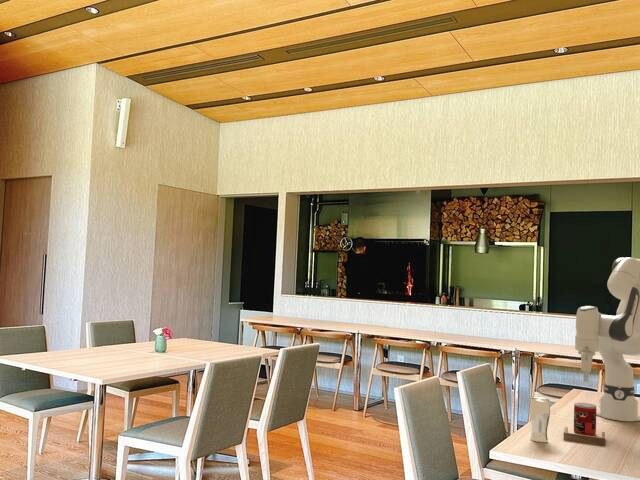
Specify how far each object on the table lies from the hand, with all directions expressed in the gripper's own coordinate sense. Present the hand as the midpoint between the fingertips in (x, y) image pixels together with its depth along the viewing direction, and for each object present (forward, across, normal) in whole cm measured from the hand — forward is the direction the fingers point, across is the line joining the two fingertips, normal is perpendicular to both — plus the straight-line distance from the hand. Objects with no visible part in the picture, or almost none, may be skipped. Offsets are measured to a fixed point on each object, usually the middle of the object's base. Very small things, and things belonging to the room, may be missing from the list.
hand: (586, 380), depth 243 cm
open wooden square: (+19, -19, 0) cm, 27 cm away
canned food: (+19, -9, 0) cm, 21 cm away
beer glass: (+19, -31, +15) cm, 40 cm away
